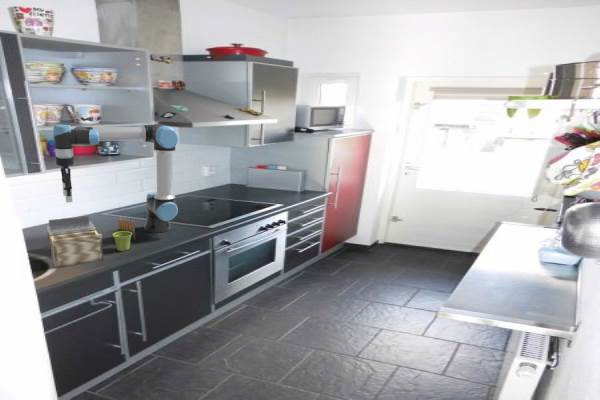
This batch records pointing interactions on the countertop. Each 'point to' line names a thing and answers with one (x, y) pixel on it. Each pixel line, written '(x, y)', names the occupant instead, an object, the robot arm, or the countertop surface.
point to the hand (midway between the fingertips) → (67, 198)
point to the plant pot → (122, 240)
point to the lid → (69, 225)
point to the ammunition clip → (127, 227)
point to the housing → (75, 248)
